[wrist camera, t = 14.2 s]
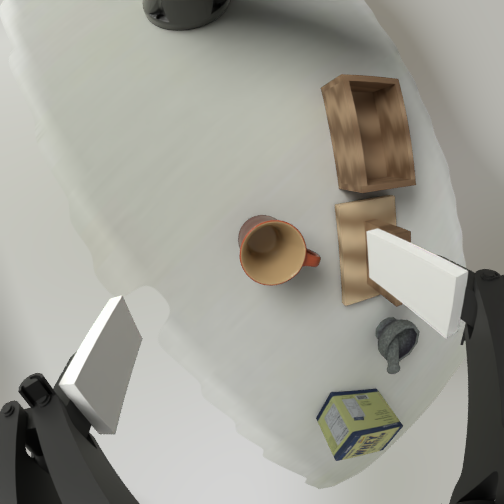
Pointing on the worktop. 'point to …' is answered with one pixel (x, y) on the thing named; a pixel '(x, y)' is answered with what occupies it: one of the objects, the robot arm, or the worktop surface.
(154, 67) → the worktop surface
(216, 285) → the worktop surface
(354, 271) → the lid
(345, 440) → the protein box
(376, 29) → the worktop surface
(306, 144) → the worktop surface
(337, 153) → the box
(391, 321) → the mortar and pestle
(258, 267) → the mug
